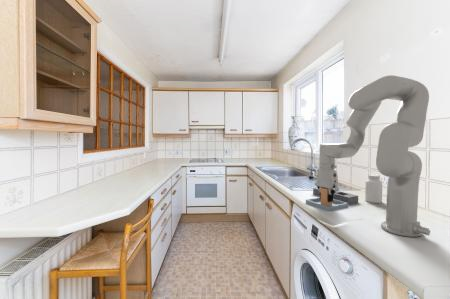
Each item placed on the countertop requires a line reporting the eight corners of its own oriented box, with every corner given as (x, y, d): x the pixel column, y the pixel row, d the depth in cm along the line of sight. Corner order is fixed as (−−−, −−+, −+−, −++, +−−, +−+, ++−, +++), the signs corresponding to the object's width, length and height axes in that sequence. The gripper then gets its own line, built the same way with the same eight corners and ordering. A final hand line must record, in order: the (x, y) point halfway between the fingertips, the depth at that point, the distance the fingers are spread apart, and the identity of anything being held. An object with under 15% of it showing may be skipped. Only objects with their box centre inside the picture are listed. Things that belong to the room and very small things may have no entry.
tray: (348, 208, 113) (348, 203, 113) (328, 212, 107) (328, 207, 107) (324, 200, 126) (324, 196, 126) (305, 204, 120) (305, 199, 120)
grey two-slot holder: (358, 203, 120) (358, 195, 120) (348, 205, 117) (348, 197, 117) (322, 193, 142) (322, 186, 142) (313, 195, 138) (313, 188, 138)
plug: (332, 205, 116) (332, 184, 115) (326, 206, 114) (327, 185, 113) (325, 203, 119) (326, 183, 119) (320, 204, 118) (320, 184, 117)
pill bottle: (371, 198, 129) (372, 173, 129) (385, 202, 122) (386, 176, 121) (361, 200, 127) (362, 174, 126) (375, 204, 119) (375, 177, 118)
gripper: (346, 168, 109) (345, 203, 110) (319, 164, 125) (318, 195, 126) (336, 169, 106) (335, 205, 107) (309, 165, 121) (308, 197, 122)
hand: (326, 200), depth 116 cm, fingers open, 4 cm apart
